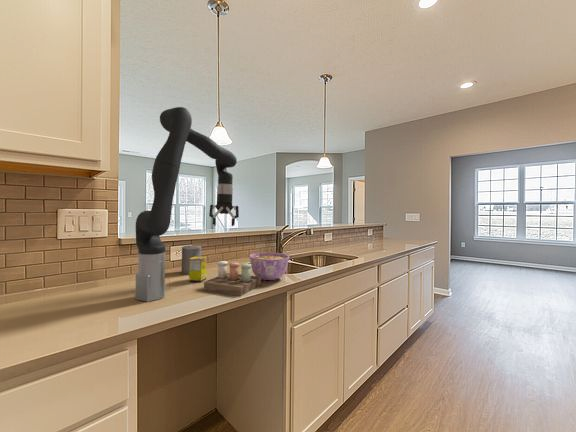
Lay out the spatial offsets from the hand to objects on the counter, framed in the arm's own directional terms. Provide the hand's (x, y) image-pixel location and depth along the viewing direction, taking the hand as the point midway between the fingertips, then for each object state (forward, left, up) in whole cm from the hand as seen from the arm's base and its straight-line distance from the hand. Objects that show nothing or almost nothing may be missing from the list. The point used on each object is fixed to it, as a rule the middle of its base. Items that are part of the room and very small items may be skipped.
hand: (223, 226), depth 136 cm
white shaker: (-12, -8, -22) cm, 26 cm away
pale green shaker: (-12, -20, -22) cm, 32 cm away
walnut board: (-12, -14, -26) cm, 32 cm away
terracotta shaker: (-12, -14, -22) cm, 29 cm away
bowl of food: (+8, -22, -26) cm, 35 cm away
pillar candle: (+1, +20, -26) cm, 33 cm away
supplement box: (-10, +7, -26) cm, 29 cm away
